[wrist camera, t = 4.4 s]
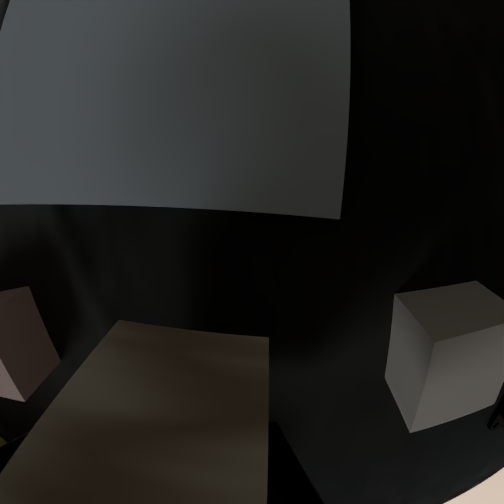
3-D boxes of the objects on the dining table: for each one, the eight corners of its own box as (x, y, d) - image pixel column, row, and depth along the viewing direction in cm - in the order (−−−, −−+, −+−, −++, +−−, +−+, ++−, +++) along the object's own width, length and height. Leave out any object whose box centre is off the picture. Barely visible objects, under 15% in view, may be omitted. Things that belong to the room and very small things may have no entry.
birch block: (269, 337, 9) (263, 599, 2) (257, 437, 10) (245, 613, 3) (119, 319, 9) (-19, 502, 2) (138, 419, 10) (73, 572, 3)
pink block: (30, 284, 11) (-19, 317, 8) (62, 359, 12) (25, 401, 9) (-12, 293, 12) (-54, 320, 8) (16, 358, 13) (-18, 391, 10)
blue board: (339, -57, 7) (343, -71, 6) (333, 213, 10) (339, 219, 9) (29, -16, 7) (18, -22, 6) (-2, 200, 10) (-17, 204, 9)
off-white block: (474, 279, 10) (524, 316, 7) (458, 358, 11) (494, 404, 8) (393, 292, 11) (434, 341, 7) (383, 375, 12) (410, 432, 8)
